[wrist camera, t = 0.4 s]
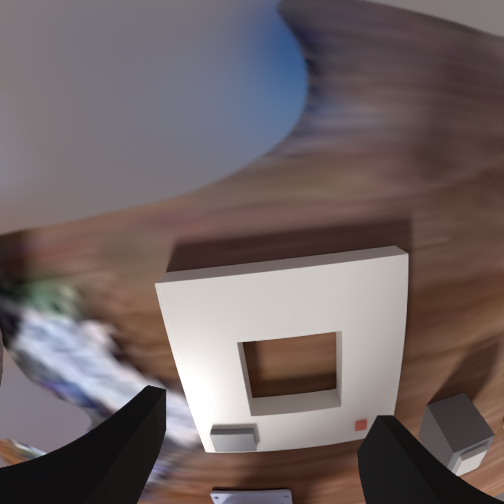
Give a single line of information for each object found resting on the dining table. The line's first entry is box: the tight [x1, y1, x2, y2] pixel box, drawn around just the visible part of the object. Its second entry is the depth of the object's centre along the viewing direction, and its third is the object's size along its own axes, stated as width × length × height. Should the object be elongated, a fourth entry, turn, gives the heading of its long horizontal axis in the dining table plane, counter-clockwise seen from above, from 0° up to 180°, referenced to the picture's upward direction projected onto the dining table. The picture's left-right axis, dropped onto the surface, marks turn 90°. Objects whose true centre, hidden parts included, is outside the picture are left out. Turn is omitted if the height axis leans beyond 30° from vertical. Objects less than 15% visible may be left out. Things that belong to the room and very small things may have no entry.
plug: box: [418, 392, 495, 476], centre depth 18 cm, size 4×4×7 cm
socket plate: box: [155, 246, 408, 452], centre depth 19 cm, size 14×14×3 cm
